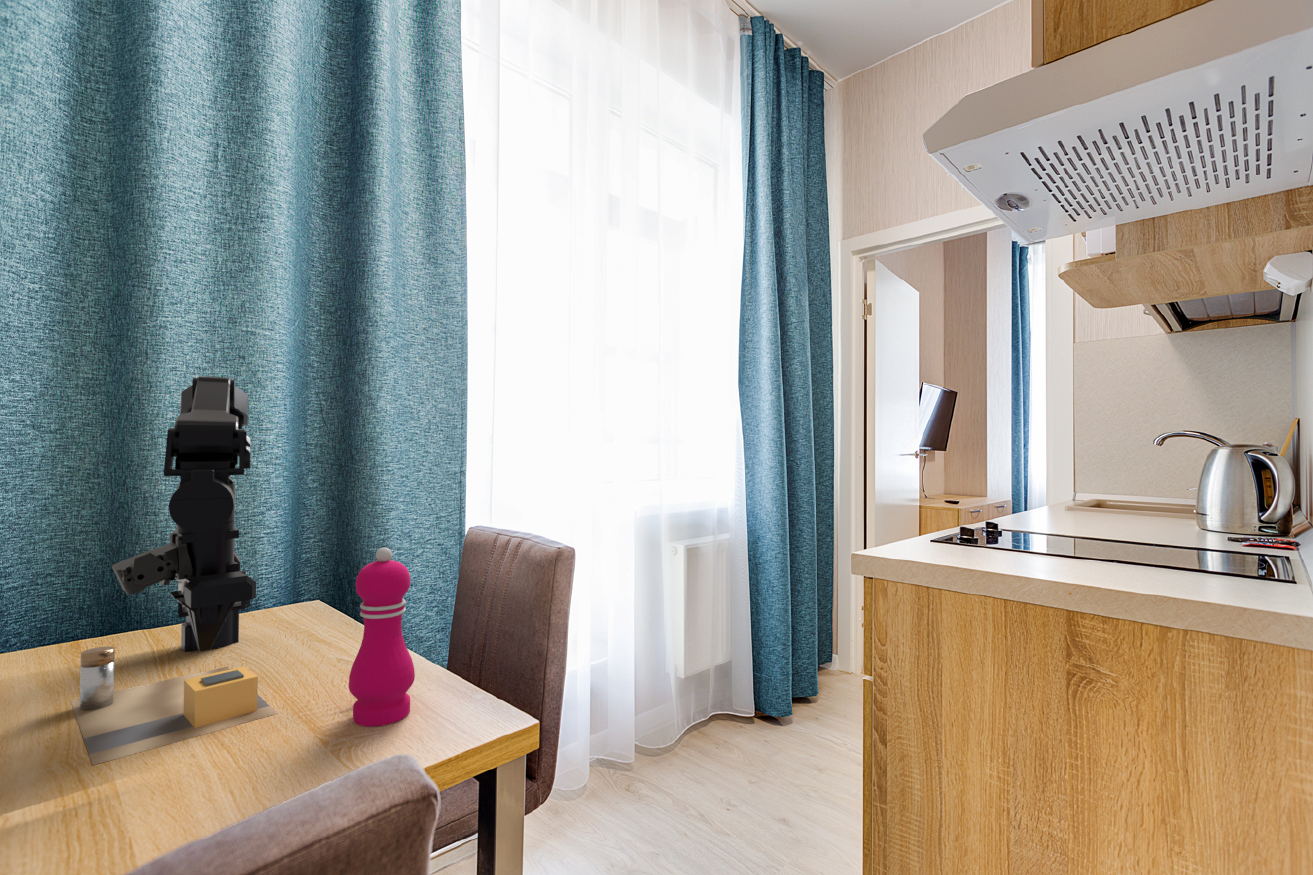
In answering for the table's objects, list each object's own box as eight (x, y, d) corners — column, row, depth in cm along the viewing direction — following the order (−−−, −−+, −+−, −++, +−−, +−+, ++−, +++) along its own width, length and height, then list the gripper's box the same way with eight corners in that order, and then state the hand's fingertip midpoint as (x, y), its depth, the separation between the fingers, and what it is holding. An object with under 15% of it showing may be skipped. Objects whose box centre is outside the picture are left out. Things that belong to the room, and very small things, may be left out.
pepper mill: (427, 707, 76) (429, 544, 76) (383, 733, 69) (385, 554, 69) (380, 699, 78) (382, 541, 79) (333, 723, 72) (335, 550, 72)
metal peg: (111, 697, 76) (112, 644, 76) (115, 705, 74) (116, 650, 74) (78, 705, 74) (79, 650, 74) (81, 712, 72) (82, 656, 72)
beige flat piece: (227, 673, 87) (227, 666, 87) (277, 721, 72) (278, 713, 72) (70, 709, 75) (70, 700, 75) (92, 775, 60) (92, 765, 60)
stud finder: (243, 698, 76) (244, 663, 76) (257, 710, 73) (257, 673, 73) (183, 714, 71) (183, 677, 71) (194, 727, 68) (195, 688, 68)
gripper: (108, 520, 76) (106, 647, 76) (133, 537, 63) (131, 690, 63) (216, 513, 84) (215, 628, 84) (258, 527, 72) (256, 662, 71)
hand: (204, 649), depth 76 cm, fingers closed
